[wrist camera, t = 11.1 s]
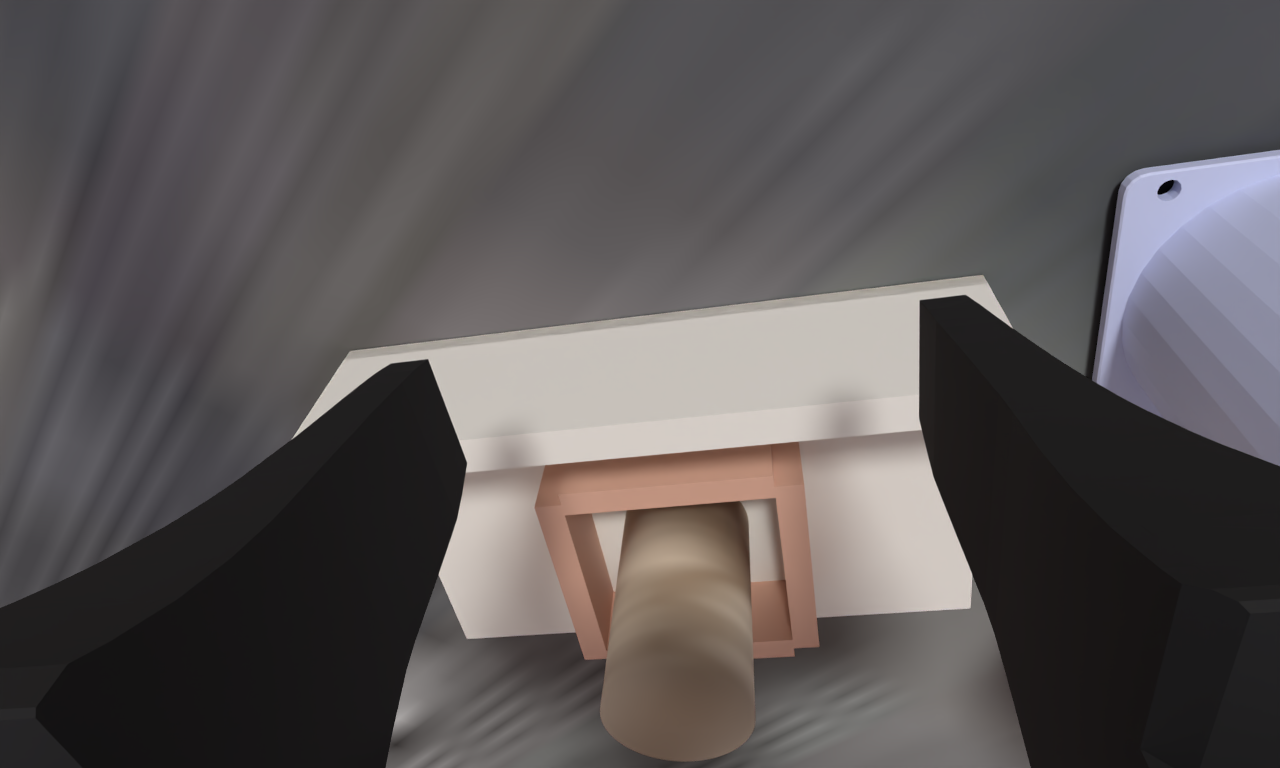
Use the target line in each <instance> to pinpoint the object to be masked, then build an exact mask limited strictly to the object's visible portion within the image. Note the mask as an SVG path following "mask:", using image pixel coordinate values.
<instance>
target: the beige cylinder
mask: <svg viewBox="0 0 1280 768" xmlns="http://www.w3.org/2000/svg"><path fill="white" fill-rule="evenodd" d="M600 716H601V720H602V723H603V725H604V727H605V728H606V730H607V731H608V732H609V734H610V735H611V736H612V737H613V738H614V739H615V740H617V741H618V742H619V743H621V744H622V745H624V746H626V747H627V748H629V749H631V750H633V751H635V752H638V753H640V754H643V755H646V756H649V757H653V758H657V759H662V760H669V761H683V762H684V761H701V760H707V759H712V758H716V757H719V756H722V755H725V754H727V753H730V752H731V751H733V750H735V749H737V748H738V747H740V746H741V745H742V744H743V743H745V742H746V741H747V740H748V738H749V737H750V736H751V734H752V732H753V730H754V727H755V719H756V718H755V689H754V661H753V632H752V603H751V574H750V546H749V521H748V516H747V513H746V510H745V508H744V506H743V505H742V503H741V502H740V501H733V502H721V503H709V504H697V505H685V506H673V507H661V508H649V509H637V510H627V511H626V516H625V523H624V531H623V538H622V546H621V554H620V561H619V569H618V576H617V584H616V592H615V599H614V607H613V614H612V622H611V630H610V637H609V645H608V652H607V660H606V668H605V675H604V683H603V690H602V698H601V706H600Z"/></svg>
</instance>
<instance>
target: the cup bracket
mask: <svg viewBox="0 0 1280 768" xmlns="http://www.w3.org/2000/svg"><path fill="white" fill-rule="evenodd" d="M959 295H967V296H968V297H970V298H971V299H973V300H974V301H976V302H977V303H979V304H980V305H981V306H983V307H984V308H985V309H987V310H988V311H990V312H991V313H992V314H994V315H995V316H996V317H998V318H999V319H1000V320H1002V321H1003V322H1005V323H1006V324H1007V325H1009V326H1010V327H1012V326H1011V324H1010V322H1009V320H1008V319H1007V317H1006V315H1005V313H1004V312H1003V310H1002V308H1001V306H1000V304H999V303H998V301H997V299H996V297H995V295H994V294H993V292H992V290H991V288H990V286H989V285H988V283H987V281H986V279H985V278H984V276H983V275H978V276H969V277H961V278H953V279H944V280H936V281H928V282H919V283H911V284H903V285H894V286H886V287H878V288H870V289H861V290H853V291H845V292H836V293H828V294H820V295H811V296H803V297H795V298H786V299H778V300H770V301H761V302H753V303H745V304H737V305H728V306H720V307H712V308H703V309H695V310H687V311H678V312H670V313H662V314H653V315H645V316H637V317H629V318H620V319H612V320H604V321H595V322H587V323H579V324H570V325H562V326H554V327H545V328H537V329H529V330H520V331H512V332H504V333H496V334H487V335H479V336H471V337H462V338H454V339H446V340H437V341H429V342H421V343H412V344H404V345H396V346H387V347H379V348H371V349H363V350H354V351H350V352H349V353H348V355H347V356H346V358H345V359H344V361H343V362H342V364H341V365H340V367H339V368H338V370H337V371H336V373H335V374H334V376H333V377H332V379H331V380H330V382H329V384H328V385H327V387H326V388H325V390H324V391H323V393H322V394H321V396H320V397H319V399H318V400H317V402H316V403H315V405H314V406H313V408H312V409H311V411H310V412H309V414H308V416H307V417H306V419H305V420H304V422H303V423H302V425H301V426H300V428H299V429H298V431H297V432H296V434H295V435H294V437H296V436H297V435H298V434H299V433H301V432H302V431H303V430H304V429H306V428H307V427H308V426H309V425H311V424H312V423H313V422H314V421H316V420H317V419H318V418H319V417H321V416H322V415H323V414H324V413H326V412H327V411H328V410H329V409H331V408H332V407H333V406H334V405H336V404H337V403H338V402H339V401H340V400H342V399H343V398H344V397H345V396H347V395H348V394H349V393H350V392H352V391H353V390H354V389H355V388H357V387H358V386H359V385H361V384H362V383H363V382H364V381H366V380H367V379H368V378H370V377H371V376H373V375H374V374H375V373H377V372H378V371H380V370H381V369H383V368H384V367H386V366H387V365H389V364H391V363H399V362H407V361H416V360H424V359H428V360H429V363H430V366H431V368H432V371H433V373H434V376H435V379H436V381H437V384H438V387H439V389H440V392H441V395H442V397H443V400H444V403H445V405H446V408H447V411H448V413H449V416H450V418H451V421H452V424H453V426H454V429H455V432H456V434H457V437H458V440H459V442H460V445H461V448H462V450H463V453H464V456H465V458H466V461H467V468H466V474H465V480H464V486H463V492H462V497H461V502H460V507H459V512H458V517H457V521H456V524H455V527H454V530H453V533H452V536H451V539H450V542H449V545H448V548H447V551H446V554H445V557H444V560H443V563H442V566H441V569H440V572H439V577H440V579H441V581H442V583H443V586H444V588H445V590H446V592H447V595H448V597H449V599H450V601H451V604H452V606H453V608H454V611H455V613H456V615H457V617H458V620H459V622H460V624H461V626H462V629H463V631H464V633H465V635H466V638H467V639H475V638H491V637H508V636H524V635H540V634H557V633H573V632H576V634H577V637H578V640H579V644H580V647H581V650H582V653H583V656H584V659H585V660H592V659H607V652H608V645H609V637H610V630H611V622H612V614H613V607H614V599H615V592H616V584H617V576H618V569H619V561H620V554H621V546H622V538H623V531H624V523H625V516H626V511H627V510H637V509H649V508H661V507H673V506H685V505H697V504H709V503H721V502H733V501H740V502H741V503H742V505H743V506H744V508H745V510H746V513H747V516H748V521H749V546H750V574H751V603H752V632H753V659H756V658H775V657H793V656H795V654H794V648H808V647H819V637H818V626H817V618H820V617H836V616H853V615H869V614H886V613H902V612H918V611H935V610H951V609H968V608H970V607H971V588H972V572H971V570H970V567H969V565H968V562H967V560H966V558H965V555H964V553H963V550H962V548H961V545H960V543H959V540H958V538H957V535H956V533H955V530H954V528H953V525H952V523H951V520H950V518H949V515H948V513H947V510H946V508H945V505H944V503H943V500H942V498H941V495H940V493H939V490H938V487H937V485H936V482H935V480H934V477H933V473H932V469H931V465H930V462H929V458H928V454H927V450H926V446H925V441H924V437H923V433H922V429H921V425H920V420H919V305H920V300H925V299H934V298H942V297H950V296H959ZM294 437H293V438H294ZM293 438H292V439H293Z"/></svg>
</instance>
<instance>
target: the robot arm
mask: <svg viewBox="0 0 1280 768" xmlns="http://www.w3.org/2000/svg"><path fill="white" fill-rule="evenodd" d="M1169 180H1174V184H1173V186H1172V188H1171V189H1170V190H1169V191H1168V192H1167V193H1164V194H1161V195H1158V194H1157V191H1158V189H1159V187H1160V186H1161V185H1162V184H1163V183H1164V182H1167V181H1169ZM919 420H920V425H921V429H922V433H923V437H924V441H925V446H926V450H927V454H928V458H929V462H930V465H931V469H932V473H933V477H934V480H935V482H936V485H937V487H938V490H939V493H940V495H941V498H942V500H943V503H944V505H945V508H946V510H947V513H948V515H949V518H950V520H951V523H952V525H953V528H954V530H955V533H956V535H957V538H958V540H959V543H960V545H961V548H962V550H963V553H964V555H965V558H966V560H967V562H968V565H969V567H970V570H971V572H972V575H973V577H974V580H975V582H976V585H977V587H978V590H979V592H980V595H981V597H982V600H983V602H984V605H985V607H986V610H987V613H988V616H989V619H990V622H991V625H992V628H993V630H994V633H995V637H996V640H997V644H998V647H999V651H1000V654H1001V658H1002V662H1003V665H1004V669H1005V672H1006V676H1007V680H1008V683H1009V687H1010V690H1011V694H1012V697H1013V701H1014V705H1015V709H1016V713H1017V716H1018V720H1019V724H1020V728H1021V732H1022V735H1023V739H1024V743H1025V747H1026V751H1027V754H1028V758H1029V762H1030V766H1031V768H1280V150H1275V151H1267V152H1260V153H1253V154H1245V155H1238V156H1231V157H1223V158H1216V159H1208V160H1201V161H1194V162H1186V163H1179V164H1172V165H1164V166H1157V167H1149V168H1143V169H1140V170H1136V171H1134V172H1133V173H1131V174H1130V175H1128V176H1127V177H1126V178H1125V179H1124V181H1123V182H1122V183H1121V185H1120V188H1119V191H1118V198H1117V206H1116V213H1115V220H1114V227H1113V234H1112V241H1111V248H1110V256H1109V263H1108V270H1107V277H1106V284H1105V291H1104V298H1103V305H1102V313H1101V320H1100V327H1099V334H1098V341H1097V348H1096V355H1095V363H1094V370H1093V377H1092V380H1090V379H1089V378H1087V377H1085V376H1084V375H1082V374H1080V373H1079V372H1077V371H1076V370H1074V369H1072V368H1071V367H1069V366H1068V365H1066V364H1064V363H1063V362H1061V361H1060V360H1058V359H1057V358H1055V357H1054V356H1052V355H1050V354H1049V353H1048V352H1046V351H1045V350H1043V349H1042V348H1040V347H1039V346H1037V345H1036V344H1034V343H1033V342H1031V341H1030V340H1028V339H1027V338H1026V337H1024V336H1023V335H1021V334H1020V333H1019V332H1017V331H1016V330H1014V329H1013V328H1012V327H1010V326H1009V325H1007V324H1006V323H1005V322H1003V321H1002V320H1000V319H999V318H998V317H996V316H995V315H994V314H992V313H991V312H990V311H988V310H987V309H985V308H984V307H983V306H981V305H980V304H979V303H977V302H976V301H974V300H973V299H971V298H970V297H968V296H967V295H959V296H950V297H942V298H934V299H925V300H920V305H919ZM466 468H467V461H466V458H465V456H464V453H463V450H462V448H461V445H460V442H459V440H458V437H457V434H456V432H455V429H454V426H453V424H452V421H451V418H450V416H449V413H448V411H447V408H446V405H445V403H444V400H443V397H442V395H441V392H440V389H439V387H438V384H437V381H436V379H435V376H434V373H433V371H432V368H431V366H430V363H429V360H428V359H424V360H416V361H407V362H399V363H391V364H389V365H387V366H386V367H384V368H383V369H381V370H380V371H378V372H377V373H375V374H374V375H373V376H371V377H370V378H368V379H367V380H366V381H364V382H363V383H362V384H361V385H359V386H358V387H357V388H355V389H354V390H353V391H352V392H350V393H349V394H348V395H347V396H345V397H344V398H343V399H342V400H340V401H339V402H338V403H337V404H336V405H334V406H333V407H332V408H331V409H329V410H328V411H327V412H326V413H324V414H323V415H322V416H321V417H319V418H318V419H317V420H316V421H314V422H313V423H312V424H311V425H309V426H308V427H307V428H306V429H304V430H303V431H302V432H301V433H299V434H298V435H297V436H296V437H294V438H293V439H292V440H291V441H289V442H288V443H287V444H285V445H284V446H283V447H281V448H280V449H279V450H277V451H276V452H275V453H273V454H272V455H271V456H269V457H268V458H267V459H265V460H264V461H263V462H261V463H260V464H258V465H257V466H256V467H254V468H253V469H252V470H250V471H249V472H248V473H246V474H245V475H244V476H242V477H241V478H240V479H238V480H237V481H235V482H234V483H233V484H231V485H230V486H228V487H227V488H225V489H224V490H222V491H221V492H219V493H218V494H216V495H215V496H213V497H212V498H210V499H209V500H207V501H206V502H204V503H203V504H201V505H199V506H198V507H196V508H195V509H193V510H191V511H190V512H188V513H187V514H185V515H183V516H182V517H180V518H179V519H177V520H175V521H174V522H172V523H170V524H169V525H167V526H165V527H164V528H162V529H160V530H158V531H156V532H155V533H153V534H151V535H149V536H147V537H145V538H143V539H142V540H140V541H138V542H136V543H134V544H132V545H131V546H129V547H127V548H125V549H123V550H121V551H120V552H118V553H116V554H114V555H112V556H110V557H109V558H107V559H105V560H103V561H101V562H99V563H97V564H95V565H93V566H91V567H89V568H87V569H85V570H83V571H81V572H79V573H77V574H75V575H73V576H71V577H69V578H67V579H64V580H62V581H60V582H58V583H56V584H54V585H52V586H50V587H47V588H45V589H43V590H41V591H38V592H36V593H34V594H32V595H30V596H27V597H25V598H23V599H21V600H18V601H16V602H14V603H11V604H9V605H7V606H4V607H2V608H0V768H385V767H386V762H387V757H388V752H389V747H390V741H391V736H392V731H393V727H394V722H395V718H396V713H397V709H398V705H399V700H400V696H401V691H402V687H403V683H404V678H405V674H406V670H407V666H408V663H409V660H410V656H411V653H412V650H413V646H414V643H415V640H416V637H417V634H418V631H419V628H420V626H421V623H422V620H423V617H424V614H425V611H426V609H427V606H428V603H429V600H430V597H431V594H432V591H433V589H434V586H435V583H436V580H437V577H438V574H439V572H440V569H441V566H442V563H443V560H444V557H445V554H446V551H447V548H448V545H449V542H450V539H451V536H452V533H453V530H454V527H455V524H456V521H457V517H458V512H459V507H460V502H461V497H462V492H463V486H464V480H465V474H466Z"/></svg>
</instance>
